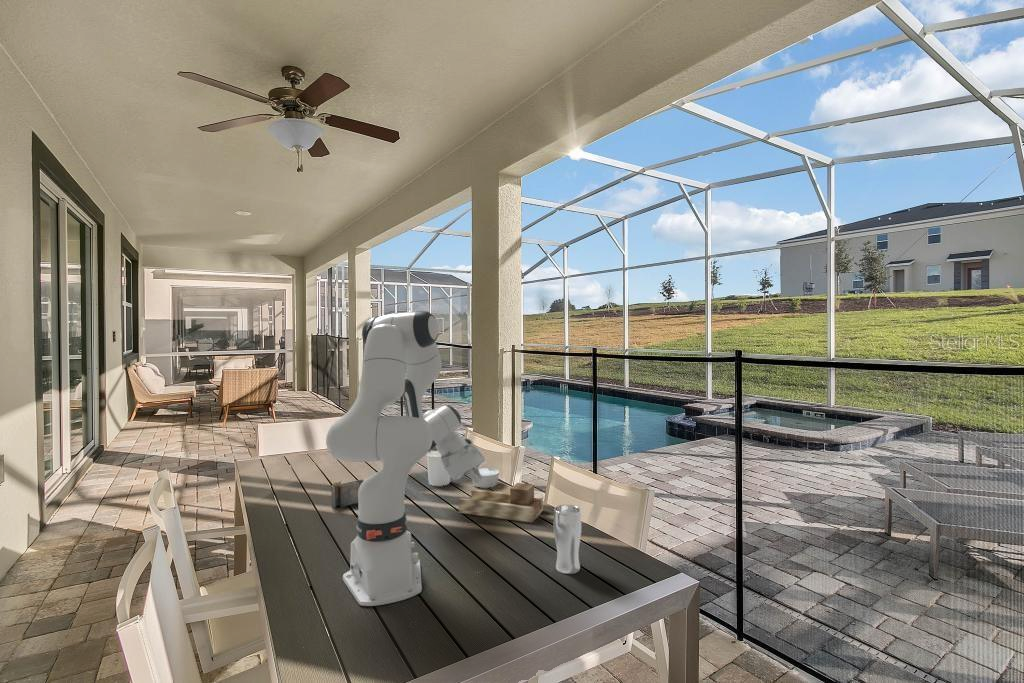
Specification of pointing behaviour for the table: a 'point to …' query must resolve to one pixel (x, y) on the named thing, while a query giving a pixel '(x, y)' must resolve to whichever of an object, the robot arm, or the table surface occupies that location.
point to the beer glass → (567, 537)
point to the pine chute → (499, 506)
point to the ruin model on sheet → (345, 493)
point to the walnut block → (522, 494)
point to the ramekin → (487, 478)
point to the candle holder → (436, 470)
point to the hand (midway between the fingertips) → (479, 480)
